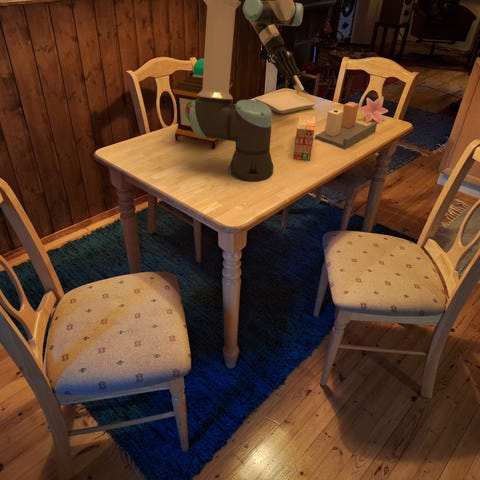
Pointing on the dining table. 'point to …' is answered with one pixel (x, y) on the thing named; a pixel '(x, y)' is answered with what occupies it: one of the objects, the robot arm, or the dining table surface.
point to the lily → (374, 110)
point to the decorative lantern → (184, 98)
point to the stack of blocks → (304, 137)
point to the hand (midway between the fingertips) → (300, 91)
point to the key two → (349, 114)
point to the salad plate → (285, 102)
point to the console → (348, 135)
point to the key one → (334, 122)
